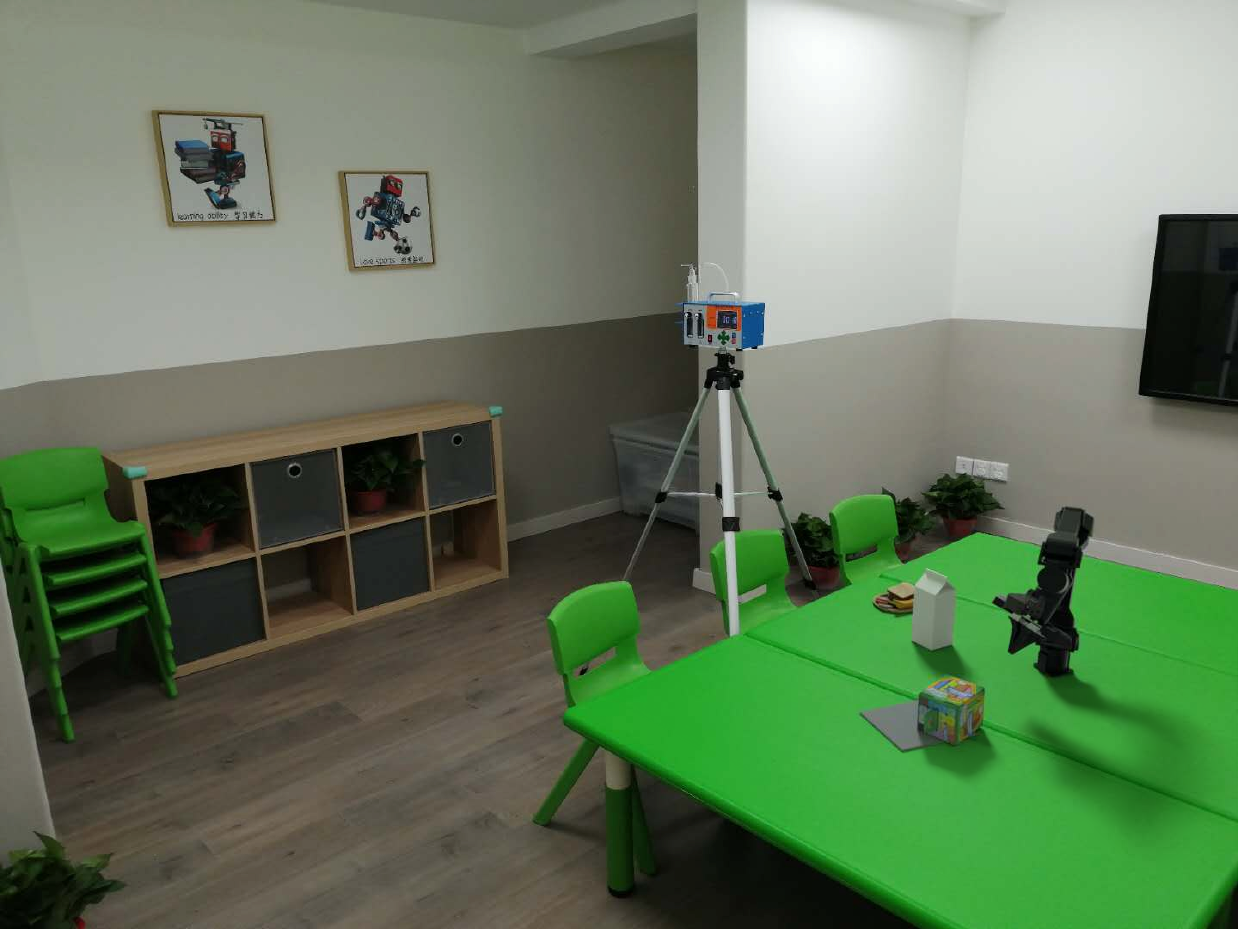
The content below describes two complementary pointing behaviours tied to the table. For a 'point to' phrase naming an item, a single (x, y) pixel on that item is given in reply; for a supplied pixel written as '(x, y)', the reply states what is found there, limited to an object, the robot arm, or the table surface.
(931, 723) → the chalk box
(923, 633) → the milk carton
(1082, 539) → the robot arm
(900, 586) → the toy sandwich meal
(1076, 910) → the table surface
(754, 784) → the table surface
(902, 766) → the table surface
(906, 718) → the topple mat
